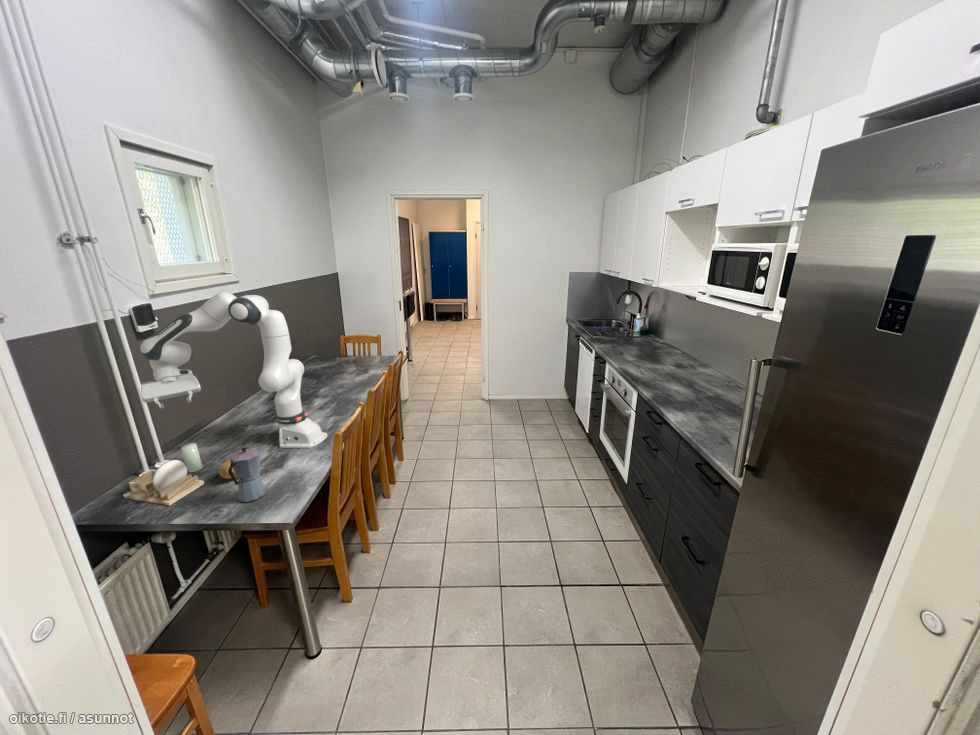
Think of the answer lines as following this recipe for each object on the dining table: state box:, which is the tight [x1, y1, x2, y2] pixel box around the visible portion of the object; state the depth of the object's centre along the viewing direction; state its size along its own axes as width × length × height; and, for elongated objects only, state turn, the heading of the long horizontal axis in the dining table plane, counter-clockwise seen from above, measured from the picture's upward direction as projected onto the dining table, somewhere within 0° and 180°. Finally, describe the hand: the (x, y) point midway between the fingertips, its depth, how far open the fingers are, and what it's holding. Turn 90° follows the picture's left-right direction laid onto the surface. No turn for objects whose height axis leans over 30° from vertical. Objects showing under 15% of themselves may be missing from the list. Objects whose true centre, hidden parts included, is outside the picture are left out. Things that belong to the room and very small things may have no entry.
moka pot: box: [228, 447, 266, 503], centre depth 142 cm, size 10×15×20 cm, turn 2°
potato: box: [218, 457, 238, 480], centre depth 158 cm, size 10×14×8 cm
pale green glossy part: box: [180, 442, 203, 473], centre depth 162 cm, size 5×5×11 cm
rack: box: [123, 459, 205, 506], centre depth 147 cm, size 22×14×13 cm, turn 77°
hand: (176, 404), depth 165 cm, fingers open, 8 cm apart
